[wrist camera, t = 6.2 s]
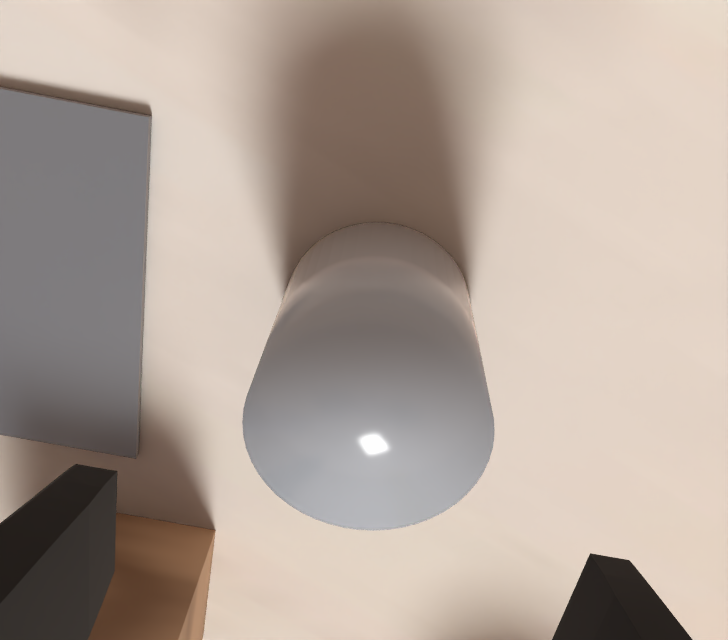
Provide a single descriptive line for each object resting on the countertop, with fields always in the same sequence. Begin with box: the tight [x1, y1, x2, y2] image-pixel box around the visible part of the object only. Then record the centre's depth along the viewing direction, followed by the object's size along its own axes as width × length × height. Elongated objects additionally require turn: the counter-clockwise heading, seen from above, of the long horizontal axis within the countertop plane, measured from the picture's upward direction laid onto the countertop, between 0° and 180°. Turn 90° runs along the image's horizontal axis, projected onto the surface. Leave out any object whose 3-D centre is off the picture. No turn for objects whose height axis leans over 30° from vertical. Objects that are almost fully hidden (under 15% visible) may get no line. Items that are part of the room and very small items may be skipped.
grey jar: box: [243, 222, 494, 530], centre depth 16 cm, size 5×5×6 cm
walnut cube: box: [88, 513, 215, 640], centre depth 21 cm, size 5×5×5 cm
